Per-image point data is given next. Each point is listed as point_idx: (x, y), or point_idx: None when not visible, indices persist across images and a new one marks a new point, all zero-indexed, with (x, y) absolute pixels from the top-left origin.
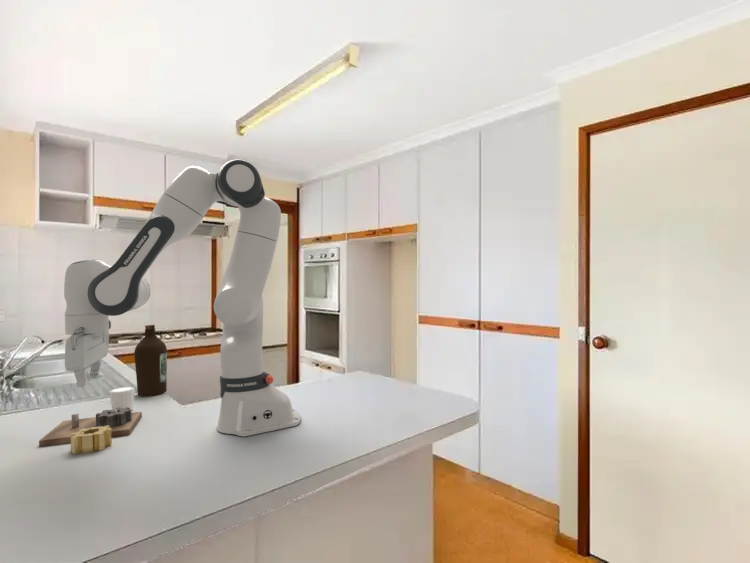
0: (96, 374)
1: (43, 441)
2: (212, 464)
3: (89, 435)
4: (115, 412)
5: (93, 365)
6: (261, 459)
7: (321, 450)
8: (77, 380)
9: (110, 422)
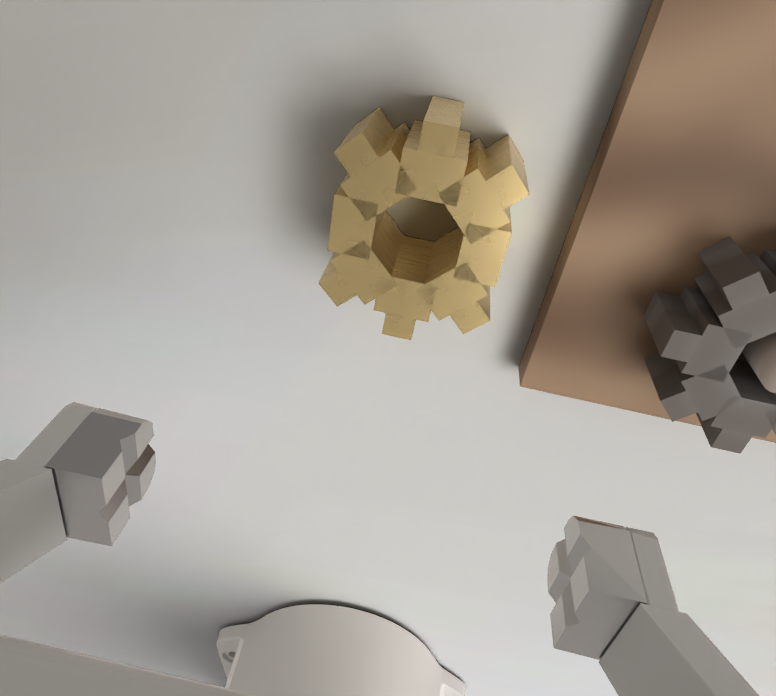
0: (559, 593)
1: None
2: None
3: (329, 235)
4: (758, 374)
5: None
6: (29, 607)
7: None
8: (28, 456)
9: (655, 323)
